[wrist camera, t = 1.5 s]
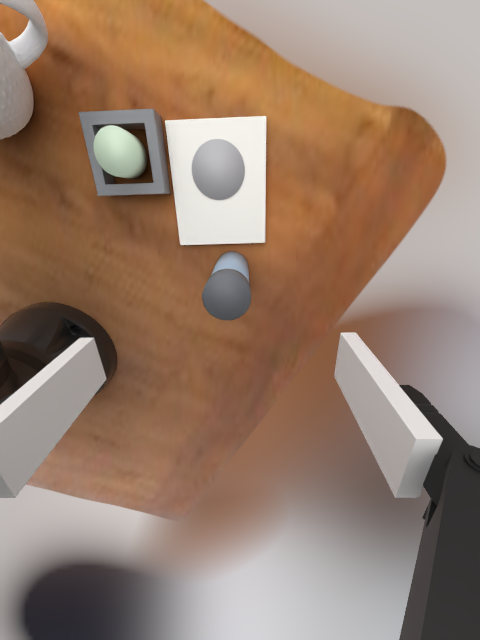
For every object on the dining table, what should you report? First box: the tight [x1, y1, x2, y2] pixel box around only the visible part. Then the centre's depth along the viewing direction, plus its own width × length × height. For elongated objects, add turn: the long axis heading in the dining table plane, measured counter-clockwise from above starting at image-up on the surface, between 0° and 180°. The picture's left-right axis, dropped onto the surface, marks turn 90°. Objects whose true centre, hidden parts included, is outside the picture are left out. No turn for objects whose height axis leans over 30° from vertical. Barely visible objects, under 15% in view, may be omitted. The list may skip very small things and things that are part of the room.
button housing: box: [79, 109, 171, 196], centre depth 27 cm, size 7×7×2 cm
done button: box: [94, 125, 147, 179], centre depth 25 cm, size 4×4×3 cm
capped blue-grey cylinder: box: [202, 251, 251, 320], centre depth 27 cm, size 4×4×11 cm
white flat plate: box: [165, 116, 266, 245], centre depth 28 cm, size 10×12×1 cm
